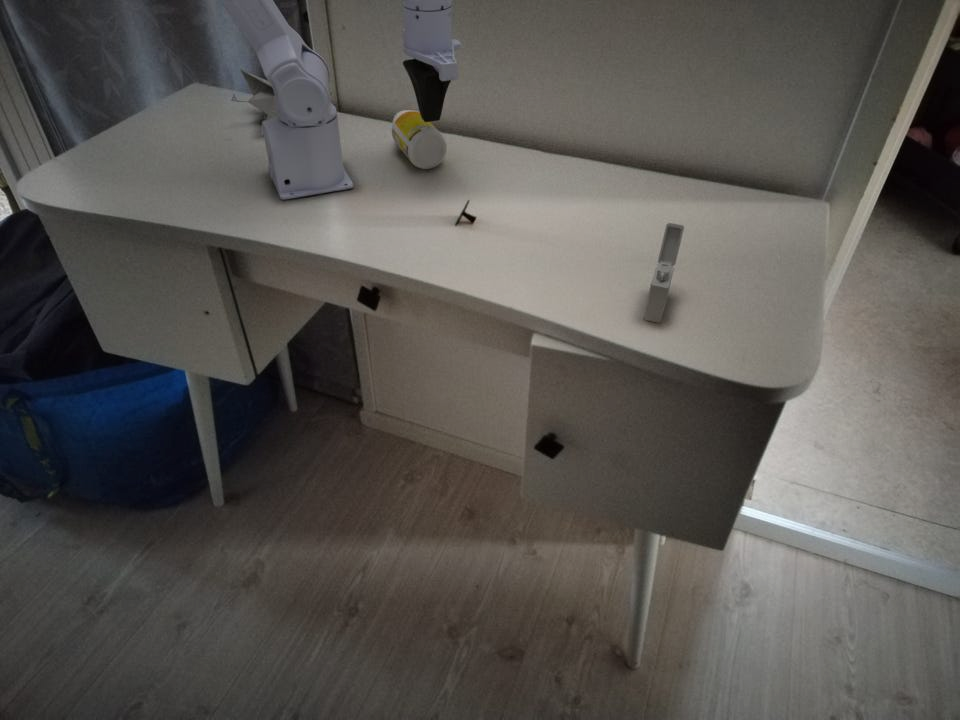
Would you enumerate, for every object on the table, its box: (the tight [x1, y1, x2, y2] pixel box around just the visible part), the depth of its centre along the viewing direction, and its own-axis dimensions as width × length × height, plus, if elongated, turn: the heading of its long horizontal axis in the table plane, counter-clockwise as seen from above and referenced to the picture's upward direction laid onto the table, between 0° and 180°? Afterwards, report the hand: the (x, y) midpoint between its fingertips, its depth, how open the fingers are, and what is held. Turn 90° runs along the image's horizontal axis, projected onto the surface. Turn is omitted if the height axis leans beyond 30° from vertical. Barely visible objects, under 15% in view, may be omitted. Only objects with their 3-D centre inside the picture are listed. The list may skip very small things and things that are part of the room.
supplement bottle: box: [391, 109, 447, 170], centre depth 98 cm, size 6×6×10 cm
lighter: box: [643, 222, 685, 324], centre depth 71 cm, size 7×2×8 cm, turn 160°
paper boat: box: [230, 69, 278, 137], centre depth 107 cm, size 12×6×9 cm
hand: (430, 119), depth 91 cm, fingers closed
